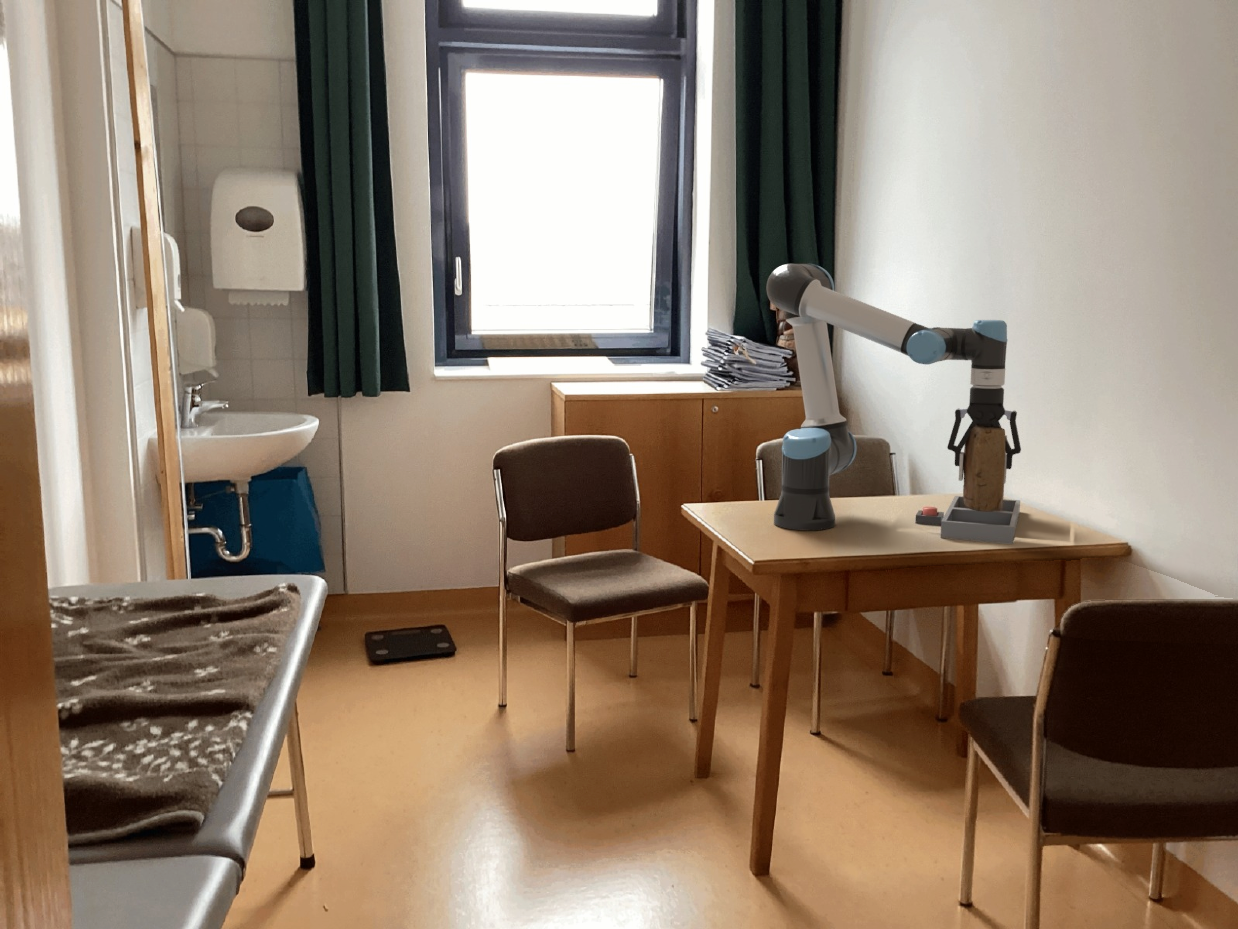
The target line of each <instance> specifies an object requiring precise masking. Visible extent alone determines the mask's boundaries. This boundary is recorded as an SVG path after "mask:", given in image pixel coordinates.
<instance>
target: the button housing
mask: <svg viewBox="0 0 1238 929" xmlns="http://www.w3.org/2000/svg"><path fill="white" fill-rule="evenodd" d="M944 515H945V512H944V511H937V516H931V515H923V509H922V510H918V511H917V513H915V524H920V525H921V524H922V525H930V526H931V525H932V526H941V521H942V519H943V517H944Z"/></svg>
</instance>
